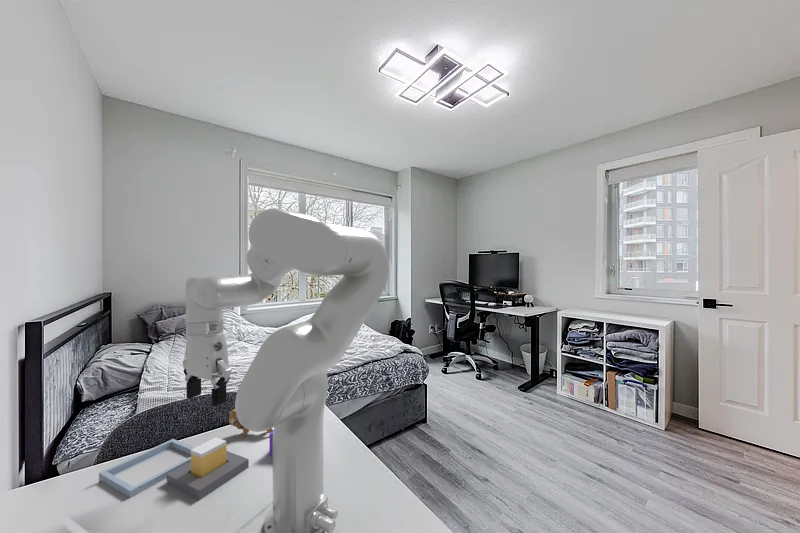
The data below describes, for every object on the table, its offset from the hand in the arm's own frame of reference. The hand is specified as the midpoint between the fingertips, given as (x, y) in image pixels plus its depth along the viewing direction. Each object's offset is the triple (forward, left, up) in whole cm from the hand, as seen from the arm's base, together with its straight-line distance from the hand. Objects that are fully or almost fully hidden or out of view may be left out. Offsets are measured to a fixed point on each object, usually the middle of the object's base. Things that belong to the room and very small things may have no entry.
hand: (206, 400), depth 75 cm
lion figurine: (+5, -17, -19) cm, 26 cm away
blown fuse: (-1, 0, -18) cm, 18 cm away
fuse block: (-1, 0, -19) cm, 19 cm away
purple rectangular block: (-9, -19, -19) cm, 28 cm away
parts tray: (+14, +4, -19) cm, 24 cm away
